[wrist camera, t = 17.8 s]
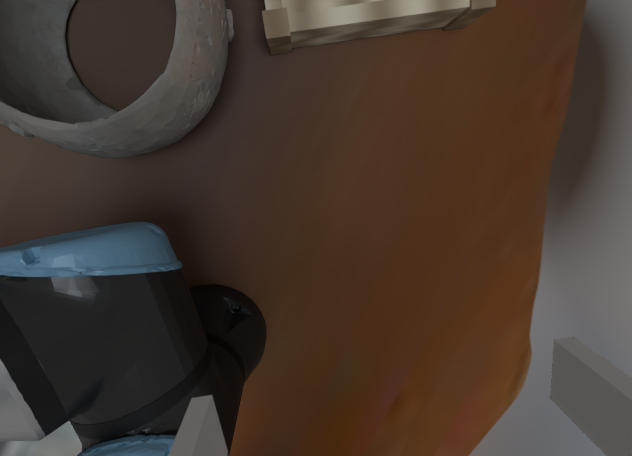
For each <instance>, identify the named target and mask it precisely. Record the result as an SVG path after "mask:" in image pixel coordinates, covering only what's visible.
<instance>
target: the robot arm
mask: <svg viewBox="0 0 632 456" xmlns="http://www.w3.org/2000/svg"><path fill="white" fill-rule="evenodd" d="M181 267H183V266H182V263H181V262H180V261H178V260H177V258H176V256H175V253H174V251H173V249H172V246H171V244H170V242H169V240H168V237H167V235H166V233H165V232H164V231H163V230H162V229H161V228H160V227H159V226H157V225H155V224H152V223H149V222H130V223H122V224H115V225H108V226H102V227H96V228H90V229H85V230H79V231H74V232H68V233H63V234H58V235H53V236H48V237H43V238H39V239H34V240H30V241H26V242H21V243H18V244H15V245H11V246H7V247H1V248H0V442H2V441H39V440H41V439H43V438H44V437H46V436H47V435H48V434H50V433H51V432H53V431H54V430H56V429H57V428H59V427H60V426H62V425H63V424H64V423H66V422H67V421H70V422H71V424H72V426H73V428H74V430H75V432H76V433H77V435H78V437H79V439H80V441H81V443H82V452H81V453H79V454H78V455H77V456H229V454H230V449H231V444H232V439H233V435H234V430H235V425H236V420H237V415H238V410H239V406H240V401H241V396H242V391H243V386H244V383H245V381H246V380H247V378H248V377H249V376H250V374H251V373H252V371H253V370H254V369H255V368H256V366H257V365H258V364H259V362H260V360H261V358H262V355H263V352H264V348H265V342H266V325H265V321H264V318H263V316H262V314H261V312H260V310H259V309H258V307H257V306H256V305H255V304H254V303H253V302H252V301H251V300H250V299H249V298H248V297H247V296H245V295H244V294H242V293H240V292H238V291H236V290H234V289H231V288H228V287H225V286H219V285H202V286H197V287H193V288H190V289H189V288H188V285H187V282H186V279H185V277H184V274H183V271H182V269H181ZM550 399H551V400H552V401H553V402H554V403H555V404H556V405H557V406H558V407H559V408H560V409H561V410H562V411H563V412H564V413H565V414H566V415H567V416H568V417H569V418H570V419H571V420H572V421H573V422H574V423H575V424H576V425H577V426H578V427H579V428H580V429H581V430H582V431H583V432H584V433H585V434H586V435H587V436H588V437H589V438H590V439H591V441H593V443H594V444H596V446H597V447H598V448H600V450H601V451H602V452H603V453H604V454H605V455H606V456H632V378H631V377H630V376H628V375H627V374H626V373H624V372H623V371H621V370H620V369H619V368H617V367H616V366H614V365H613V364H611V363H610V362H609V361H607V360H606V359H605V358H603V357H602V356H600V355H599V354H597V353H596V352H595V351H593V350H592V349H590V348H589V347H588V346H586V345H585V344H583V343H582V342H581V341H579V340H578V339H576V338H575V337H568V338H562V339H556V340H554V349H553V364H552V379H551V394H550Z"/></svg>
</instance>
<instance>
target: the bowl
mask: <svg viewBox="0 0 632 456" xmlns="http://www.w3.org/2000/svg"><path fill="white" fill-rule="evenodd" d="M75 1H76V0H0V124H2V125H5V126H7V127H9V128H10V129H12V130H13V131H14V132H16V133H18V134H20V135H21V136H23V137H25V138H27V139H30V140H32V139H33V138H34V136H37V137H39V138H41V139H43V140H45V141H47V142H49V143H52V144H54V145H56V146H59V147H61V148H64V149H68V150H71V151H75V152H79V153H83V154H87V155H92V156H98V157H103V158H126V157H133V156H137V155H141V154H145V153H149V152H153V151H155V150H158V149H160V148H162V147H165V146H167V145H170V144H172V143H174V142H177V141H179V140H180V139H181V138H182V137H184V136H185V135H186V134H187V133H188V132H190V131H191V130H192V129H193V128H194V127H195V126H196V125H197V124H198V123H199V122H200V121H201V120H202V119H203V118H204V116H205V115H206V114H207V113H208V112H209V110H210V109H211V107H212V105H213V103H214V101H215V99H216V97H217V95H218V93H219V90H220V87H221V83H222V80H223V77H224V73H225V68H226V66H227V58H228V43H231V44H232V40H233V36H234V30H233V16H232V12H231V10H229V9H226V5H225V0H175V3H176V30H175V37H174V45H173V49H172V52H171V55H170V58H169V61H168V64H167V67H166V69H165V72H164V74H161V75H160V76H159V78H158V79H157V80H156V81H155V82H154V83H153V85H152V86H151V87H150V88H149V89H148V90H147V91H146V92H145V93H144V94H143V95H142V96H141V97H140V98H139V99H137V100H136V101H135V102H133V103H132V104H131V105H129V106H128V107H127V108H125V109H123V110H121V111H116V110H114V109H112V108H110V107H109V106H107V105H105V104H103V103H101V102H100V101H99V100H97V99H96V98H95V97H94V96H93V95H92V94H91V93H90V92H89V91H88V90H87V89H86V88H85V87H84V86H83V85H82V84H81V82H80V80H79V78H78V77H77V75H76V73H75V72H74V70H73V68H72V65H71V63H70V61H69V59H68V55H67V48H66V40H65V32H66V21H67V18H68V15H69V12H70V10H71V8H72V6H73V4H74V3H75Z"/></svg>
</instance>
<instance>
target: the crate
mask: <svg viewBox="0 0 632 456" xmlns="http://www.w3.org/2000/svg"><path fill="white" fill-rule="evenodd" d="M495 6H496V0H265V7H266V10H265V11H262V15H263V21H264V27H265V33H266V39H267V43H268V46H269V49H270V52H271V55H278V54H285V53H292V49H293V48H300V47H307V46H314V45H321V44H328V43H335V42H342V41H349V40H356V39H363V38H370V37H377V36H384V35H391V34H398V33H405V32H412V31H419V30H426V29H433V28H440V27H443V31H446V30H453V29H460V28H464V27H466V26H467V25H469V24H470V23H472V22H473V21H475V20H476V19H478V18H479V17H481V16H482V15H483V14H485V13H486V12H488V11H489V10H491V9H492V8H494V7H495Z"/></svg>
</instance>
